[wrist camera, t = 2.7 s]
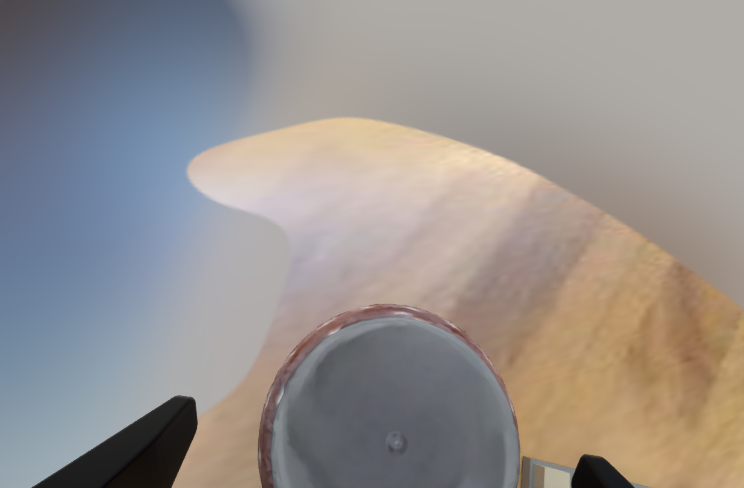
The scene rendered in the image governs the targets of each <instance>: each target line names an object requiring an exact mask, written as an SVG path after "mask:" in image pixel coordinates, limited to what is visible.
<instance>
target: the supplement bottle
mask: <svg viewBox="0 0 744 488" xmlns="http://www.w3.org/2000/svg"><path fill="white" fill-rule="evenodd" d="M258 466H259V473H260V478H261V483H262V488H517V485H518V476H519V466H520V441H519V433H518V425H517V419H516V416H515V411H514V408H513V404H512V401H511V398H510V396H509V393H508V391H507V389H506V387H505V384H504V382H503V380H502V378H501V376H500V375H499V373H498V371H497V369H496V368H495V366H494V365H493V364H492V362H491V360H490V359H489V357H488V356H487V355H486V353H485V352H484V351H483V350H482V349H481V347H480V346H479V345H478V344H477V343H475V341H474V340H473V339H472V338H471V337H470V336H469V335H468V334H466V333H465V331H463V330H461V329H459V328H458V327H456V326H455V325H454V324H453V323H452V322H450V321H448V320H445V319H443V318H441V317H439V316H437V315H435V314H432V313H430V312H427V311H424V310H422V309H418V308H414V307H409V306H405V305H395V304H375V305H370V306H364V307H360V308H357V309H354V310H352V311H348V312H345V313H342V314H340V315H338V316H336V317H333V318H331V319H330V320H329V321H328V322H326V323H323V324H322V325H320V326H318V327H317V328H316V329H315V330H314V331H313V332H311V333H310V334H309V335H308V336H306V337H305V338H304V339H303V340H302V341H301V342H300V343H299V344H298V345H297V346H296V348H295V349H294V350H293V351H292V352H291V353H290V355H289V356H288V358H287V359H286V360H285V362H284V363H283V365H282V367H281V369H280V370H279V371H278V373H277V375H276V377H275V380H274V382H273V384H272V386H271V387H270V390H269V392H268V395H267V399H266V402H265V404H264V408H263V413H262V417H261V423H260V430H259V440H258Z"/></svg>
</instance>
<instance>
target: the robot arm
mask: <svg viewBox="0 0 744 488" xmlns="http://www.w3.org/2000/svg"><path fill="white" fill-rule="evenodd" d="M197 425H198V421H197V412H196V402H195V400H194V398H192V397H187V396H175V397H173V398H171V399H170V400H168V401H167V402H165V403H163V404H162V405H160V406H159V407H157V408H156V409H154V410H152V411H151V412H149V413H148V414H146V415H145V416H143V417H142V418H140V419H138V420H137V421H135V422H134V423H132V424H131V425H129V426H128V427H126V428H124V429H123V430H121V431H120V432H118V433H116V434H115V435H113V436H112V437H110V438H109V439H107V440H105V441H104V442H102V443H101V444H99V445H98V446H96V447H95V448H93V449H91V450H90V451H88V452H87V453H85V454H84V455H82V456H80V457H79V458H77V459H76V460H74V461H73V462H71V463H69V464H68V465H66V466H65V467H63V468H62V469H60V470H58V471H57V472H56V473H54V474H52V475H51V476H49V477H48V478H46V479H44V480H43V481H41V482H40V483H38V484H37V485H35V486H33V487H32V488H171V487H172V485H173V483H174V481H175V478H176V476H177V474H178V472H179V469H180V467H181V465H182V463H183V460H184V458H185V456H186V454H187V451H188V449H189V447H190V445H191V442H192V440H193V438H194V436H195V433H196V430H197ZM571 488H635V487H634V486H633V485H632V484H631V483H630V482H629V481H628V480H627V479H626V478H624V477H623V476H622V475H621V474H620V473H619V472H618V471H617V470H616V469H615V468H614V467H613V466H612V465H611V464H610V463H609V462H608V461H607V460H606V459H604V458H603V457H600V456H594V455H587V454H585V455H583V456H581V458H580V460H579V462H578V465H577V467H576V469H575V472H574V474H573V476H572V480H571Z"/></svg>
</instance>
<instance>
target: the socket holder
mask: <svg viewBox="0 0 744 488" xmlns="http://www.w3.org/2000/svg"><path fill="white" fill-rule="evenodd" d="M574 472H575V469H574V468H569V467H565V466H561V465H557V464H553V463H549V462H545V461H541V460H537V459H533V458H529V457H524V456H523V466H522V483H521V488H571V480H572V476H573V474H574ZM630 483H631V482H630ZM631 484H632V485H633V486H634V487H635V488H651V487H647V486H643V485H639V484H635V483H631Z"/></svg>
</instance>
